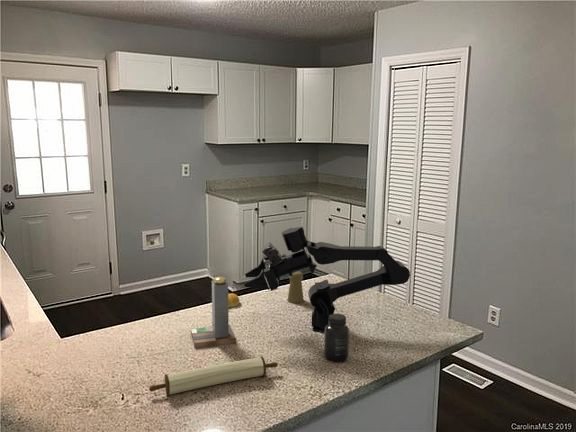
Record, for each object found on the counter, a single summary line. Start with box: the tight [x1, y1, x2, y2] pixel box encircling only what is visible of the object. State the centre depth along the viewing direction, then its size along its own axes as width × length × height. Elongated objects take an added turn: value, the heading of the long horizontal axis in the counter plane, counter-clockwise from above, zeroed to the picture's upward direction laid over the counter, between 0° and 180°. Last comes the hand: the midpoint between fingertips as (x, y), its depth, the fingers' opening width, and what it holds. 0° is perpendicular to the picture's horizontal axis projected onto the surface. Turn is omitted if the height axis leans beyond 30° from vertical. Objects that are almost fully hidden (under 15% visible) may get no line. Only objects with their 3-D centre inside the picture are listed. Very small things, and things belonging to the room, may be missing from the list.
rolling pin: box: [148, 355, 278, 397], centre depth 116 cm, size 32×6×5 cm, turn 112°
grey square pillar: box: [211, 276, 230, 338], centre depth 140 cm, size 4×9×17 cm, turn 17°
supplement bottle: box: [323, 313, 350, 363], centre depth 130 cm, size 7×7×12 cm
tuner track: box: [190, 324, 237, 349], centre depth 142 cm, size 12×10×2 cm
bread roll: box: [228, 292, 240, 308], centre depth 169 cm, size 8×9×4 cm
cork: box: [286, 271, 305, 305], centre depth 172 cm, size 6×6×11 cm
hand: (244, 280), depth 146 cm, fingers open, 9 cm apart
